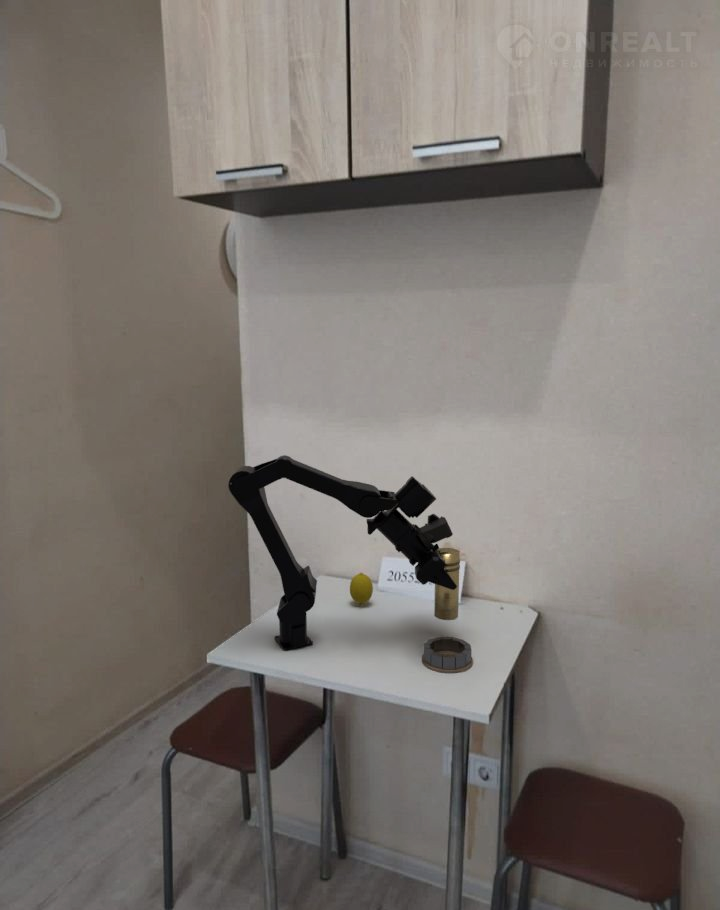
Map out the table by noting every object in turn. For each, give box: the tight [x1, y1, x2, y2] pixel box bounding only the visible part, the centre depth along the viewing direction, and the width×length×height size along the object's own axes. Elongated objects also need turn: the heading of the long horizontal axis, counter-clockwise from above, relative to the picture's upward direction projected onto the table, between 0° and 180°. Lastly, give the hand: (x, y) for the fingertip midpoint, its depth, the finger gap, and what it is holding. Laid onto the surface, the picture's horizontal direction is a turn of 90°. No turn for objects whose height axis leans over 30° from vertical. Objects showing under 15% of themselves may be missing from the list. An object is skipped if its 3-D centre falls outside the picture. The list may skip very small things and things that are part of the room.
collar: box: [423, 636, 472, 670], centre depth 132 cm, size 9×9×2 cm
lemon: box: [349, 572, 374, 606], centre depth 161 cm, size 6×6×8 cm
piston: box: [433, 547, 461, 621], centre depth 140 cm, size 5×5×14 cm
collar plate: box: [421, 651, 474, 674], centre depth 132 cm, size 10×10×1 cm
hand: (453, 583), depth 140 cm, fingers closed on piston, 5 cm apart
